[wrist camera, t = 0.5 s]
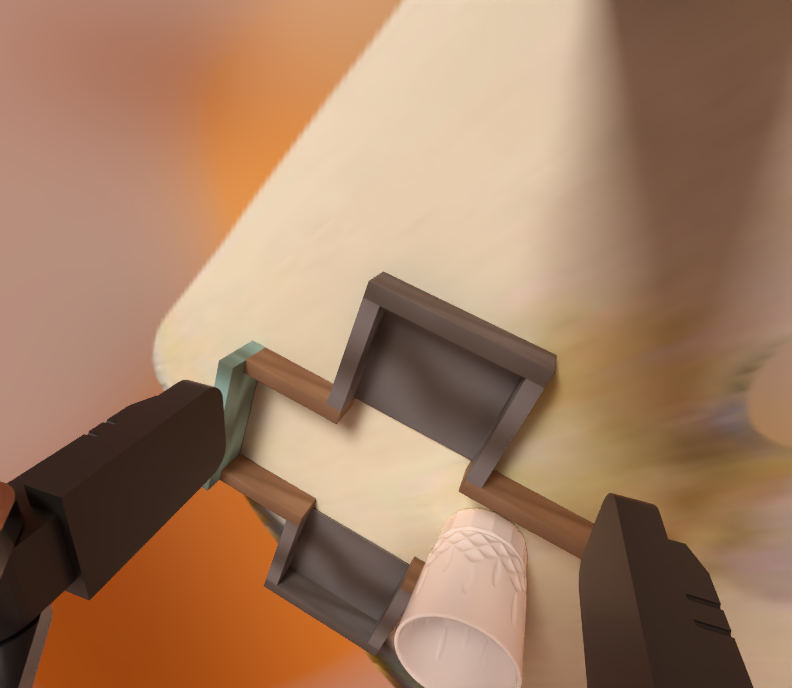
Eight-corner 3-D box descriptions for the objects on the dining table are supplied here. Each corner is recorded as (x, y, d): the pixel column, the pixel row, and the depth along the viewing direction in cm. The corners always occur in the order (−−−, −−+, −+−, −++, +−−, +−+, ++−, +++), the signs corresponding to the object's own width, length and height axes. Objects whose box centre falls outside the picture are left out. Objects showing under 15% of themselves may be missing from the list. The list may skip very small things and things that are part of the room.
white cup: (420, 541, 39) (375, 654, 30) (463, 483, 35) (426, 593, 26) (501, 595, 38) (479, 727, 29) (555, 541, 34) (549, 674, 25)
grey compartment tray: (279, 221, 32) (243, 230, 29) (693, 421, 27) (710, 461, 24) (211, 524, 48) (183, 553, 45) (465, 682, 44) (456, 728, 40)
